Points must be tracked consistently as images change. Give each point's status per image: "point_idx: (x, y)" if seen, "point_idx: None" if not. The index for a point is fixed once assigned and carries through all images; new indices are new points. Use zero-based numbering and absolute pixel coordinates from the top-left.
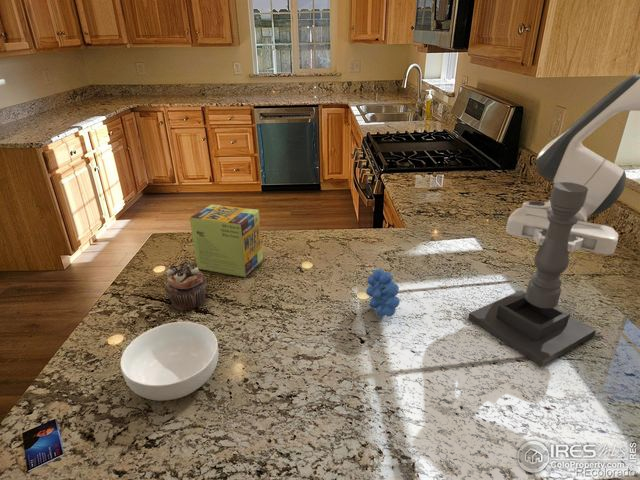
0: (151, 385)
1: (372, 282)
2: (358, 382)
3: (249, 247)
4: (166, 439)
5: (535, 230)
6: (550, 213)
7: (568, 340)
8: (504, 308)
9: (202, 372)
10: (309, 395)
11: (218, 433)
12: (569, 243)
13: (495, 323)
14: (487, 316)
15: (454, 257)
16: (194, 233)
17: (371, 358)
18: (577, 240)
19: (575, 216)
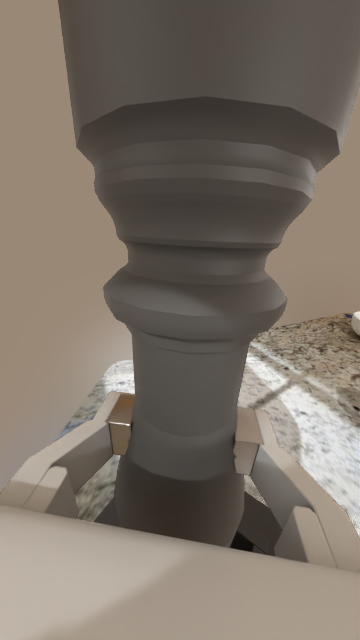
0: (358, 311)
1: None
2: (302, 368)
3: None
4: (329, 326)
5: (336, 506)
6: (267, 275)
7: (109, 517)
8: (250, 527)
9: (357, 320)
10: (313, 353)
11: (318, 331)
12: (130, 399)
13: (250, 516)
14: (276, 542)
15: None
16: None
17: (322, 391)
18: (73, 438)
19: (120, 269)
